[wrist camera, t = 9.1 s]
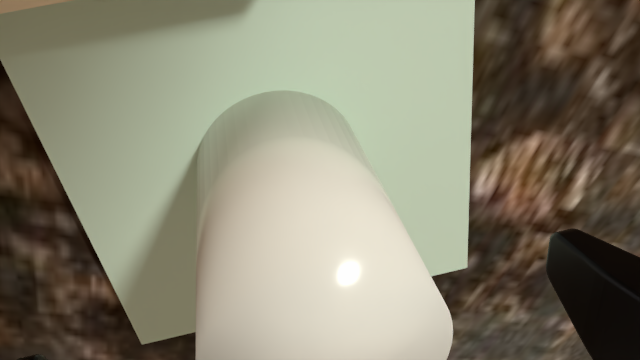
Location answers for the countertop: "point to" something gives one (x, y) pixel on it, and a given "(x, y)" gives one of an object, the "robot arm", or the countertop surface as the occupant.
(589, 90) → the countertop surface
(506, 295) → the countertop surface
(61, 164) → the plate
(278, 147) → the ceramic cylinder
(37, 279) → the countertop surface
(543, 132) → the countertop surface
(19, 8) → the pocket block
